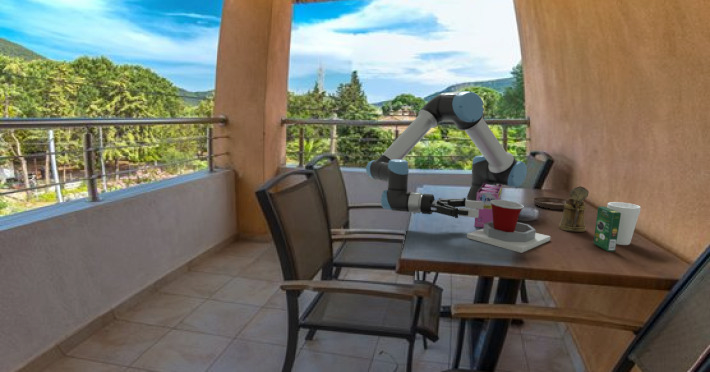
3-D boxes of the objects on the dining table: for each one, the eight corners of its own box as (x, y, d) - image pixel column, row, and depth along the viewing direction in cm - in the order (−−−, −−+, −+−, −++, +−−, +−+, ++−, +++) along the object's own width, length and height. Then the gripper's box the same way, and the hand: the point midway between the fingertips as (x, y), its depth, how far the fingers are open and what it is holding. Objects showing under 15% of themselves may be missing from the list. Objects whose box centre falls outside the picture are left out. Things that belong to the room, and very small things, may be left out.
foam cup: (596, 239, 144) (601, 203, 142) (614, 236, 148) (619, 201, 146) (623, 247, 136) (628, 209, 133) (641, 244, 139) (647, 207, 137)
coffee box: (616, 252, 132) (622, 212, 129) (607, 252, 131) (613, 212, 129) (601, 244, 139) (605, 206, 137) (592, 244, 139) (597, 206, 137)
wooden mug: (561, 234, 150) (566, 185, 147) (557, 224, 163) (562, 179, 160) (589, 237, 147) (594, 187, 144) (582, 227, 160) (588, 181, 156)
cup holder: (497, 227, 157) (498, 216, 157) (550, 240, 143) (551, 227, 142) (466, 237, 144) (467, 225, 144) (521, 252, 130) (522, 239, 129)
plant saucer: (533, 201, 207) (533, 195, 206) (572, 204, 200) (573, 198, 199) (531, 208, 191) (532, 201, 191) (574, 212, 184) (575, 206, 183)
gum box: (481, 212, 181) (483, 182, 178) (500, 214, 178) (503, 183, 175) (473, 226, 159) (476, 191, 157) (495, 229, 156) (498, 193, 154)
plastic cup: (523, 242, 135) (527, 207, 133) (489, 240, 137) (492, 204, 135) (518, 233, 145) (521, 200, 143) (486, 231, 147) (488, 198, 145)
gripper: (429, 206, 166) (484, 212, 158) (412, 221, 143) (475, 228, 135) (430, 188, 165) (485, 192, 156) (413, 199, 142) (477, 206, 134)
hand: (481, 209), depth 146 cm, fingers open, 13 cm apart
